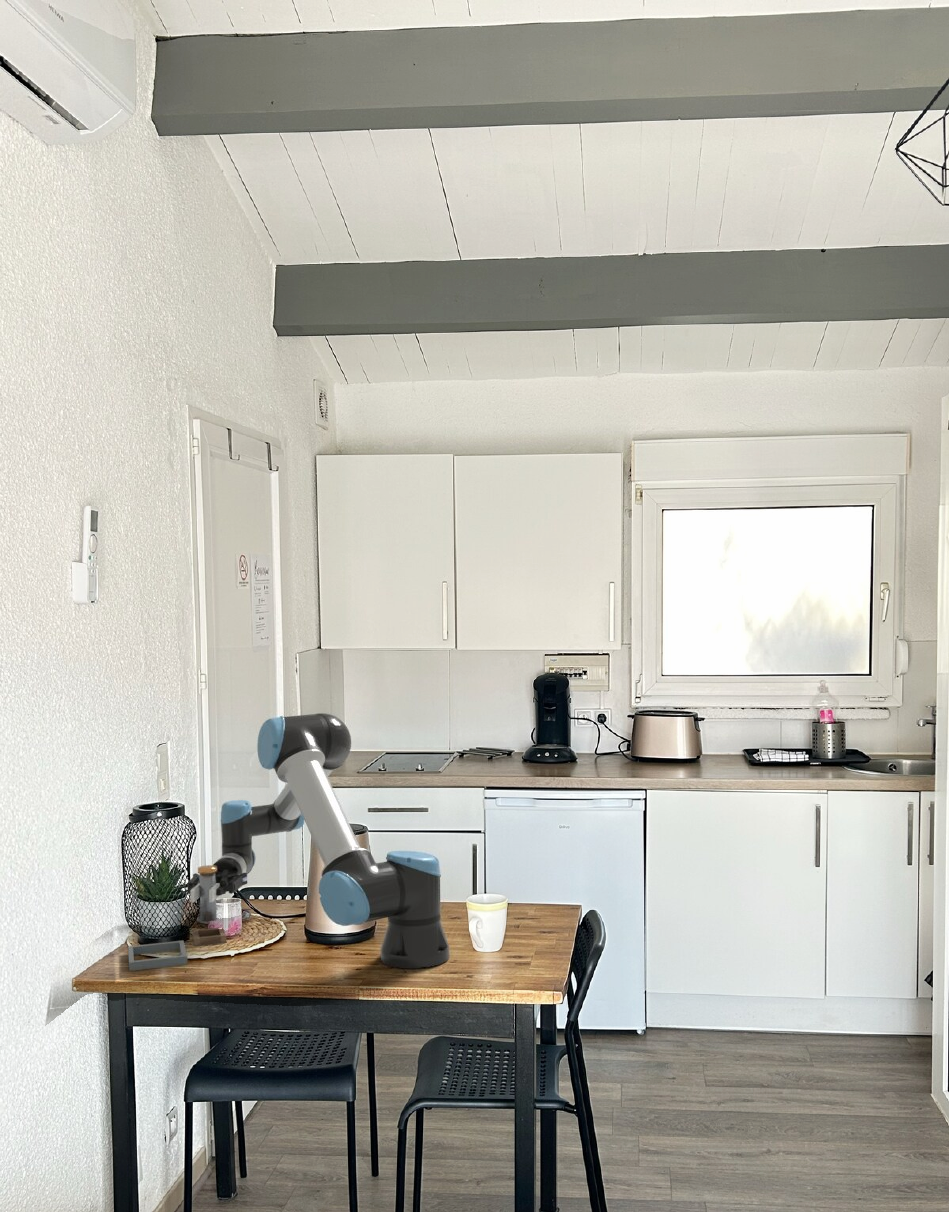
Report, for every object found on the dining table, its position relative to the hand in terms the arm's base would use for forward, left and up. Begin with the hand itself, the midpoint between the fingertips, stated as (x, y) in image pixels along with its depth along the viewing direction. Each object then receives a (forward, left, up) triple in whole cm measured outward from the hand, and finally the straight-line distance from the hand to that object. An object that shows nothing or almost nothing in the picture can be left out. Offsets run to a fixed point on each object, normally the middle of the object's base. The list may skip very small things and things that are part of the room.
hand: (201, 896), depth 257 cm
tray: (-5, +10, -12) cm, 17 cm away
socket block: (+5, -2, -12) cm, 13 cm away
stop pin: (+5, -2, -7) cm, 9 cm away
